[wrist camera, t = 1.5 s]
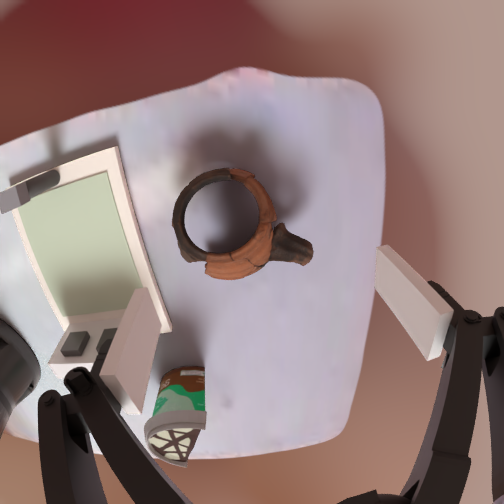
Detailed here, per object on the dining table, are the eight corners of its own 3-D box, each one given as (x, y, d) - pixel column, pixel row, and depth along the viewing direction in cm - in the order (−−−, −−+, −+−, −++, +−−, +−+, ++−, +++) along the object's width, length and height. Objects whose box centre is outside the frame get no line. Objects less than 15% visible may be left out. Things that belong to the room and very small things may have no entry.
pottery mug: (181, 267, 30) (149, 264, 22) (203, 178, 30) (180, 146, 22) (299, 294, 29) (309, 302, 21) (318, 201, 29) (334, 175, 21)
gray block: (46, 188, 23) (1, 214, 16) (42, 173, 23) (-5, 194, 16) (65, 182, 23) (21, 206, 17) (61, 166, 23) (15, 185, 16)
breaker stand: (73, 337, 32) (51, 382, 25) (10, 186, 23) (-37, 210, 16) (172, 326, 32) (163, 379, 25) (117, 145, 24) (79, 158, 16)
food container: (158, 348, 34) (145, 415, 25) (207, 359, 35) (206, 427, 26) (148, 403, 38) (139, 460, 29) (188, 412, 40) (186, 468, 31)
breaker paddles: (73, 338, 27) (63, 356, 25) (70, 332, 27) (60, 350, 24) (127, 332, 27) (120, 353, 25) (124, 326, 27) (116, 347, 24)
